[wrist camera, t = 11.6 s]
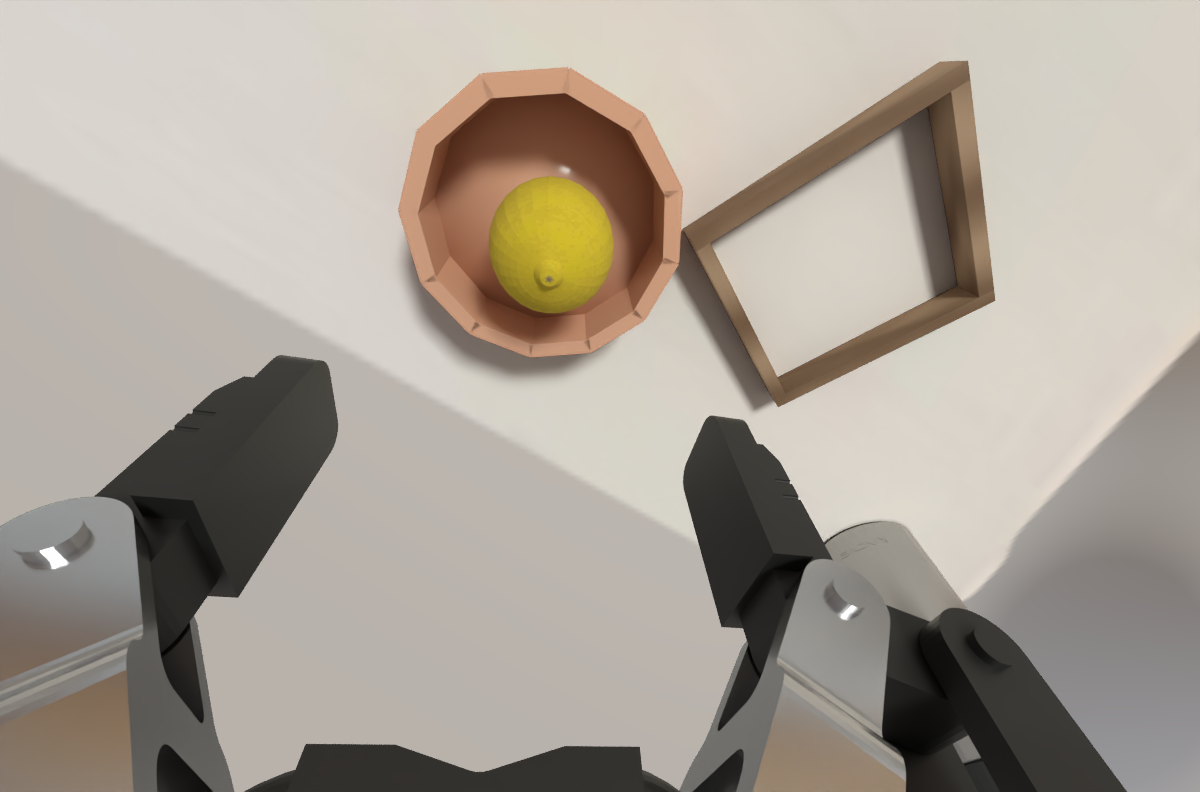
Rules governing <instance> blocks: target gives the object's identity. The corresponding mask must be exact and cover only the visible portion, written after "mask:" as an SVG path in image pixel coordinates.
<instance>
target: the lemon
mask: <svg viewBox="0 0 1200 792" xmlns="http://www.w3.org/2000/svg"><path fill="white" fill-rule="evenodd" d="M613 249H614V241H613V234H612V227H611V224H610V222H609V219H608V217H607V214H606V212H605V210H604V208H603V207H602V206H601V204H600V203H599V202H598V200H597V199H596V198H595V196H594V195H593V194H592V193H590V192H589V191H588V190H587V189H585V188H584V187H583V186H582V185H580V184H578V183H575V182H573V181H571V180H569V179H566V178H560V177H553V176H547V177H539V178H534V179H531V180H529V181H527V182H524V183H522V184H520V185H518V186H517V187H516V188H515V189H514V190H512V191H511V192H510V193H509V194H507V195H506V197H505V198H504V200H503V201H502V203H501V204H500V205H499V207H498V208H497V210H496V212H495V215H494V218H493V221H492V224H491V227H490V235H489V252H490V257H491V262H492V267H493V269H494V271H495V274H496V276H497V278H498V280H499V282H500V284H501V285H502V286H503V288H504V289H505V290H506V291H507V293H508V294H509V295H510V296H511V297H512V298H514V299H515V300H516V301H518V302H519V303H520V304H521V305H523V306H525V307H528V308H530V309H532V310H534V311H538V312H543V313H562V312H567V311H571V310H574V309H576V308H577V307H579V306H581V305H583V304H585V303H586V302H588V301H589V300H590V299H591V298H592V297H593V296H594V295H595V294H596V293H597V292H598V291H599V289H600V288H601V286H602V285H603V283H604V282H605V280H606V278H607V275H608V273H609V270H610V267H611V264H612V260H613Z"/></svg>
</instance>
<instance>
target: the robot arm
mask: <svg viewBox="0 0 1200 792" xmlns="http://www.w3.org/2000/svg"><path fill="white" fill-rule="evenodd" d="M337 432H338V419H337V413H336V407H335V401H334V395H333V389H332V383H331V377H330V371H329V368H328V365H327V364H326V363H325V362H324V361H320V360H313V359H306V358H299V357H290V356H283V355H279V356H277V357H275V358H274V359H273V360H272V361H270V362H269V363H268V364H267V365H266V366H265V367H264V368H263V369H262V370H261V371H260V372H259V373H258V374H257V375H256V376H255V377H254V378H252V377H242V378H240V379H238V380H236V381H234V382H232V383H229V384H227V385H225V386H223V387H221V388H219V389H217V390H215V391H213V392H212V393H211V394H210V395H209V396H208V397H207V398H205V399H204V400H203V401H202V402H201V403H200V404H199V405H197V406H196V407H195V408H194V409H193V413H192V414H187V415H186V416H185V417H184V418H183V419H182V420H180V421H179V422H178V423H177V424H176V425H175V429H174V430H169V431H168V432H167V433H166V434H165V435H163V436H162V437H161V438H160V439H159V440H158V441H157V442H156V443H154V444H153V445H152V446H151V447H150V448H149V449H148V450H146V451H145V452H144V453H143V454H142V455H141V456H140V457H139V458H137V459H136V460H135V461H134V462H133V463H132V464H131V465H130V466H128V467H127V468H126V469H125V470H124V471H123V472H122V473H120V474H119V475H118V476H117V477H116V478H115V479H114V480H113V481H111V482H110V483H109V484H108V485H107V486H106V487H105V488H103V489H102V490H101V491H100V492H99V493H98V494H97V495H95V496H94V497H81V498H74V499H68V500H64V501H59V502H55V503H52V504H48V505H45V506H42V507H39V508H37V509H34V510H31V511H29V512H26V513H24V514H22V515H20V516H18V517H16V518H14V519H12V520H10V521H8V522H7V523H5V524H3V525H1V526H0V792H234V788H233V784H232V779H231V776H230V772H229V769H228V765H227V762H226V759H225V756H224V754H223V751H222V749H221V746H220V744H219V741H218V738H217V734H216V730H215V726H214V721H213V715H212V709H211V703H210V697H209V691H208V685H207V679H206V673H205V667H204V662H203V655H202V649H201V643H200V637H199V631H198V625H197V622H196V619H195V617H194V615H195V613H196V612H197V610H198V609H199V607H200V606H201V605H202V603H203V602H204V600H205V599H206V598H207V596H219V597H239V595H240V594H241V592H242V591H243V589H244V587H245V586H246V584H247V583H248V581H249V579H250V578H251V576H252V575H253V573H254V572H255V570H256V568H257V567H258V566H259V564H260V562H261V561H262V559H263V558H264V556H265V555H266V553H267V551H268V550H269V548H270V546H271V545H272V543H273V542H274V540H275V539H276V537H277V536H278V534H279V532H280V531H281V529H282V528H283V526H284V525H285V523H286V522H287V520H288V518H289V517H290V515H291V514H292V512H293V511H294V509H295V507H296V506H297V504H298V503H299V501H300V500H301V498H302V497H303V495H304V493H305V492H306V490H307V489H308V487H309V485H310V484H311V482H312V481H313V479H314V478H315V476H316V474H317V473H318V471H319V470H320V468H321V467H322V465H323V463H324V462H325V460H326V459H327V457H328V456H329V454H330V453H331V451H332V449H333V447H334V444H335V441H336V437H337ZM683 485H684V491H685V495H686V499H687V502H688V506H689V510H690V513H691V517H692V521H693V524H694V528H695V532H696V535H697V539H698V543H699V546H700V549H701V554H702V557H703V561H704V564H705V568H706V572H707V575H708V579H709V583H710V586H711V590H712V593H713V597H714V601H715V605H716V608H717V612H718V616H719V619H720V623H721V627H732V628H743V629H744V632H745V635H746V638H747V641H746V643H745V644H744V645H743V647H742V649H741V651H740V653H739V656H738V659H737V661H736V664H735V666H734V669H733V671H732V674H731V677H730V679H729V682H728V684H727V687H726V689H725V692H724V695H723V697H722V700H721V702H720V705H719V707H718V710H717V713H716V715H715V718H714V720H713V723H712V726H711V728H710V731H709V733H708V735H707V737H706V740H705V742H704V744H703V745H702V747H701V749H700V751H699V752H698V754H697V756H696V757H695V759H694V761H693V763H692V765H691V766H690V768H689V770H688V773H687V774H686V777H685V779H684V781H683V783H682V786H681V788H680V790H679V791H678V790H677V789H676V788H674V787H673V786H671V785H670V784H669V783H667V782H665V781H664V780H662V779H660V778H658V777H656V776H654V775H653V774H651V773H649V772H646V771H643V770H642V765H641V756H640V747H588V746H585V747H583V746H564V747H561V748H558V749H555V750H552V751H548V752H546V753H542V754H539V755H536V756H533V757H530V758H527V759H524V760H521V761H517V762H514V763H512V764H508V765H505V766H502V767H499V768H496V769H493V770H489V771H485V772H473V771H469V770H466V769H464V768H460V767H458V766H455V765H452V764H449V763H446V762H443V761H441V760H437V759H435V758H432V757H429V756H426V755H423V754H420V753H417V752H415V751H412V750H409V749H406V748H403V747H400V746H397V745H356V744H355V745H354V744H353V745H352V744H351V745H350V744H348V745H347V744H306V745H305V747H304V750H303V752H302V755H301V758H300V760H299V762H298V765H297V768H296V770H293V771H290V772H287V773H284V774H281V775H279V776H276V777H274V778H272V779H269V780H267V781H264V782H262V783H260V784H258V785H256V786H254V787H252V788H250V789H248V790H246V791H245V792H1127V791H1126V790H1125V789H1124V787H1123V786H1122V785H1121V783H1120V782H1119V780H1118V779H1117V778H1116V776H1115V775H1114V774H1113V772H1112V771H1111V770H1110V768H1109V767H1108V766H1107V764H1106V763H1105V762H1104V760H1103V759H1102V757H1101V756H1100V755H1099V754H1098V752H1097V751H1096V749H1095V748H1094V747H1093V745H1092V744H1091V743H1090V742H1089V740H1088V739H1087V737H1086V736H1085V734H1084V733H1083V732H1082V730H1081V729H1080V728H1079V726H1078V725H1077V724H1076V722H1075V721H1074V720H1073V718H1072V717H1071V716H1070V714H1069V713H1068V712H1067V710H1066V709H1065V707H1064V706H1063V705H1062V703H1061V702H1060V701H1059V699H1058V698H1057V697H1056V695H1055V694H1054V693H1053V691H1052V690H1051V689H1050V687H1049V686H1048V685H1047V683H1046V682H1045V680H1044V679H1043V678H1042V676H1041V675H1040V674H1039V672H1038V671H1037V670H1036V668H1035V667H1034V666H1033V664H1032V663H1031V662H1030V660H1029V659H1028V657H1027V656H1026V655H1025V654H1024V652H1023V651H1022V650H1021V649H1020V647H1019V646H1018V645H1017V644H1016V643H1015V642H1014V641H1013V640H1012V639H1011V638H1010V637H1009V636H1008V635H1007V634H1006V633H1004V632H1003V631H1002V630H1001V629H1000V628H998V627H997V626H996V625H994V624H993V623H991V622H990V621H988V620H987V619H985V618H983V617H982V616H980V615H978V614H976V613H973V612H971V611H969V610H968V609H967V608H966V606H965V605H964V604H963V602H962V601H961V599H960V598H959V597H958V595H957V594H956V593H955V591H954V590H953V589H952V587H951V586H950V585H949V583H948V582H947V581H946V579H945V578H944V577H943V575H942V574H941V573H940V571H939V570H938V568H937V567H936V566H935V564H934V563H933V562H932V560H931V559H930V558H929V556H928V555H927V554H926V552H925V551H924V550H923V548H922V547H921V546H920V544H919V543H918V542H917V540H916V539H915V538H914V536H913V535H912V534H911V532H910V531H909V530H908V529H907V528H906V527H904V526H902V525H900V524H897V523H893V522H875V523H869V524H864V525H860V526H857V527H854V528H851V529H849V530H847V531H844V532H842V533H840V534H839V535H837V536H835V537H834V538H832V539H831V540H830V541H829V542H827V543H826V544H824V542H823V541H822V539H821V537H820V535H819V533H818V531H817V530H816V528H815V526H814V524H813V522H812V520H811V518H810V517H809V515H808V513H807V511H806V509H805V507H804V506H803V504H802V502H801V500H798V494H797V493H796V491H795V489H794V487H793V485H792V484H790V480H789V478H788V476H787V474H786V472H785V470H784V469H783V467H782V465H781V463H780V462H779V461H778V460H777V458H776V457H775V456H774V455H773V454H772V453H771V452H770V451H769V450H768V449H767V448H766V447H765V446H764V445H761V444H757V443H756V441H755V439H754V437H753V435H752V433H751V431H750V429H749V427H748V425H747V424H746V422H745V421H743V420H740V419H733V418H725V417H718V416H709V417H708V418H707V419H706V420H705V422H704V424H703V426H702V429H701V431H700V433H699V435H698V438H697V440H696V442H695V445H694V447H693V449H692V451H691V454H690V456H689V458H688V460H687V463H686V466H685V470H684V477H683Z"/></svg>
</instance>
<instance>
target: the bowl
mask: <svg viewBox="0 0 1200 792" xmlns="http://www.w3.org/2000/svg"><path fill="white" fill-rule="evenodd" d="M547 176H553V177H560V178H566V179H569V180H571V181H573V182H575V183H578V184H580V185H582V186H583V187H584V188H585V189H587V190H588V191H589V192H590V193H592V194H593V195H594V196H595V198H596V199H597V200H598V202H599V203H600V204H601V206H602V207H603V208H604V210H605V212H606V214H607V217H608V219H609V222H610V224H611V227H612V234H613V241H614V249H613V260H612V264H611V267H610V270H609V273H608V275H607V278H606V280H605V282H604V283H603V285H602V286H601V288H600V289H599V291H598V292H597V293H596V294H595V295H594V296H593V297H592V298H591V299H590V300H589V301H588V302H586V303H585V304H583V305H581V306H579V307H577V308H576V309H574V310H571V311H567V312H562V313H543V312H538V311H534V310H532V309H530V308H528V307H525V306H523V305H521V304H520V303H519V302H518V301H516V300H515V299H514V298H512V297H511V296H510V295H509V294H508V293H507V291H506V290H505V289H504V288H503V286H502V285H501V284H500V282H499V280H498V278H497V276H496V274H495V271H494V269H493V267H492V262H491V257H490V252H489V235H490V227H491V224H492V221H493V218H494V215H495V212H496V210H497V208H498V207H499V205H500V204H501V203H502V201H503V200H504V198H505V197H506V195H507V194H509V193H510V192H511V191H512V190H514V189H515V188H516V187H517V186H518V185H520V184H522V183H524V182H527V181H529V180H531V179H534V178H539V177H547ZM682 197H683V190H682V186H681V184H680V182H679V180H678V178H677V176H676V174H675V172H674V170H673V168H672V166H671V164H670V162H669V160H668V158H667V156H666V154H665V152H664V150H663V148H662V147H661V145H660V143H659V141H658V139H657V137H656V135H655V133H654V131H653V129H652V127H651V125H650V123H649V121H648V119H647V117H646V115H645V114H644V113H643V112H641V111H639V110H638V109H636V108H635V107H633V106H631V105H630V104H628V103H626V102H625V101H623V100H621V99H620V98H618V97H617V96H615V95H613V94H612V93H610V92H608V91H607V90H605V89H604V88H602V87H600V86H599V85H597V84H595V83H594V82H592V81H591V80H589V79H587V78H586V77H584V76H582V75H581V74H579V73H578V72H576V71H574V70H573V69H571V68H570V69H569V72H568V67H566V68H552V69H538V70H523V71H509V72H494V73H482V74H479V75H478V76H477V77H476V78H475V79H474V80H473V81H472V82H470V83H469V84H468V85H467V86H466V87H465V88H464V89H463V90H461V91H460V92H459V93H458V94H457V95H456V96H455V97H454V98H452V99H451V100H450V101H449V102H448V103H447V104H446V105H445V106H443V107H442V108H441V109H440V110H439V111H438V112H437V113H436V114H434V115H433V116H432V117H431V118H430V119H429V120H428V121H427V122H425V123H424V124H423V125H422V126H421V127H420V128H419V129H418V131H416V135H415V140H414V144H413V148H412V152H411V157H410V161H409V165H408V170H407V174H406V178H405V182H404V187H403V191H402V195H401V200H400V204H399V208H398V209H399V211H398V212H399V215H400V218H401V221H402V225H403V228H404V231H405V234H406V238H407V241H408V244H409V247H410V251H411V254H412V257H413V260H414V264H415V267H416V270H417V273H418V277H419V280H420V283H422V285H423V286H424V288H425V289H426V290H427V291H428V292H429V293H430V294H431V295H432V296H433V297H434V298H435V299H436V300H437V301H438V302H439V303H440V304H441V305H442V306H443V307H444V308H445V309H446V310H447V312H448V313H449V314H450V315H451V316H452V317H453V318H454V319H455V320H456V321H457V322H458V323H459V324H460V325H461V326H462V327H463V328H464V329H465V330H466V331H467V332H468V333H470V335H472V336H475V337H478V338H480V339H483V340H485V341H488V342H491V343H493V344H496V345H498V346H501V347H504V348H506V349H509V350H511V351H514V352H517V353H519V354H522V355H524V356H527V357H543V356H556V355H569V354H582V353H591V352H593V351H595V350H597V349H598V348H600V347H602V346H603V345H605V344H607V343H608V342H610V341H612V340H613V339H615V338H617V337H618V336H620V335H622V334H623V333H625V332H627V331H628V330H630V329H632V328H633V327H635V326H637V325H638V324H640V323H642V322H643V321H644V320H645V319H646V318H647V316H648V314H649V313H650V311H651V309H652V308H653V306H654V304H655V303H656V301H657V299H658V298H659V296H660V295H661V293H662V291H663V290H664V288H665V286H666V285H667V283H668V281H669V280H670V278H671V276H672V275H673V273H674V271H675V270H676V268H677V267H678V265H679V264H678V263H679V257H680V237H681V217H682ZM643 319H644V320H643Z"/></svg>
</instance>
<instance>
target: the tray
mask: <svg viewBox="0 0 1200 792" xmlns="http://www.w3.org/2000/svg"><path fill="white" fill-rule="evenodd" d="M927 106H928V110H929V116H930V122H931V128H932V134H933V140H934V146H935V152H936V158H937V164H938V170H939V176H940V182H941V188H942V194H943V200H944V206H945V212H946V218H947V224H948V230H949V236H950V242H951V248H952V254H953V260H954V266H955V272H956V278H957V284H958V286H956V287H954V288H952V289H950V290H948V291H946V292H944V293H942V294H940V295H938V296H937V297H935V298H933V299H931V300H929V301H927V302H925V303H923V304H921V305H919V306H917V307H915V308H913V309H911V310H909V311H907V312H905V313H903V314H901V315H899V316H897V317H895V318H893V319H891V320H889V321H888V322H886V323H884V324H882V325H880V326H878V327H876V328H874V329H872V330H870V331H868V332H866V333H864V334H862V335H860V336H858V337H856V338H854V339H852V340H850V341H848V342H846V343H844V344H842V345H841V346H839V347H837V348H835V349H833V350H831V351H829V352H827V353H825V354H823V355H821V356H819V357H817V358H815V359H813V360H811V361H809V362H807V363H805V364H803V365H801V366H799V367H797V368H795V369H793V370H792V371H790V372H788V373H786V374H784V375H782V376H780V377H778V378H777V376H776V374H775V372H774V370H773V368H772V366H771V364H770V362H769V360H768V358H767V356H766V354H765V352H764V350H763V348H762V346H761V344H760V342H759V340H758V338H757V336H756V334H755V332H754V330H753V328H752V326H751V324H750V322H749V320H748V318H747V316H746V314H745V312H744V310H743V308H742V306H741V304H740V302H739V300H738V298H737V296H736V294H735V292H734V290H733V288H732V286H731V284H730V282H729V280H728V278H727V276H726V274H725V272H724V270H723V268H722V266H721V264H720V262H719V260H718V258H717V256H716V254H715V252H714V250H713V248H712V246H711V244H710V243H711V242H713V241H714V240H716V239H717V238H719V237H721V236H722V235H724V234H725V233H727V232H729V231H730V230H732V229H733V228H735V227H737V226H738V225H740V224H741V223H743V222H745V221H746V220H748V219H749V218H751V217H752V216H754V215H756V214H757V213H759V212H760V211H762V210H764V209H765V208H767V207H768V206H770V205H772V204H773V203H775V202H776V201H778V200H780V199H781V198H783V197H784V196H786V195H787V194H789V193H791V192H792V191H794V190H795V189H797V188H799V187H800V186H802V185H803V184H805V183H807V182H808V181H810V180H811V179H813V178H815V177H816V176H818V175H819V174H821V173H822V172H824V171H826V170H827V169H829V168H830V167H832V166H834V165H835V164H837V163H838V162H840V161H842V160H843V159H845V158H846V157H848V156H850V155H851V154H853V153H854V152H856V151H857V150H859V149H861V148H862V147H864V146H865V145H867V144H869V143H870V142H872V141H873V140H875V139H877V138H878V137H880V136H881V135H883V134H885V133H886V132H888V131H889V130H891V129H892V128H894V127H896V126H897V125H899V124H900V123H902V122H904V121H905V120H907V119H908V118H910V117H912V116H913V115H915V114H916V113H918V112H920V111H921V110H923V109H924V108H926V107H927ZM683 231H684V233H685V235H686V237H687V238H688V240H689V242H690V244H691V246H692V248H693V250H694V252H695V254H696V255H697V257H698V259H699V261H700V263H701V265H702V267H703V269H704V271H705V272H706V274H707V276H708V278H709V280H710V282H711V284H712V286H713V288H714V289H715V291H716V293H717V295H718V297H719V299H720V301H721V303H722V305H723V306H724V308H725V310H726V312H727V314H728V316H729V318H730V320H731V322H732V323H733V325H734V327H735V329H736V331H737V333H738V335H739V337H740V339H741V341H742V342H743V344H744V346H745V348H746V350H747V352H748V354H749V356H750V358H751V359H752V361H753V363H754V365H755V367H756V369H757V371H758V373H759V375H760V376H761V378H762V380H763V382H764V384H765V386H766V388H767V390H768V392H769V393H770V395H771V396H772V398H773V400H774V401H775V403H776V404H777V406H778V407H779V406H781V405H783V404H786V403H788V402H790V401H792V400H794V399H796V398H798V397H800V396H802V395H804V394H806V393H808V392H810V391H812V390H814V389H816V388H818V387H820V386H822V385H824V384H826V383H828V382H830V381H832V380H834V379H836V378H839V377H841V376H843V375H845V374H847V373H849V372H851V371H853V370H855V369H857V368H859V367H861V366H863V365H865V364H867V363H869V362H871V361H873V360H875V359H877V358H879V357H881V356H883V355H885V354H887V353H890V352H892V351H894V350H896V349H898V348H900V347H902V346H904V345H906V344H908V343H910V342H912V341H914V340H916V339H918V338H920V337H922V336H924V335H926V334H928V333H930V332H932V331H934V330H936V329H938V328H940V327H943V326H945V325H947V324H949V323H951V322H953V321H955V320H957V319H959V318H961V317H963V316H965V315H967V314H969V313H971V312H973V311H975V310H977V309H979V308H981V307H983V306H985V305H987V304H989V303H991V302H994V301H995V294H994V286H993V277H992V268H991V259H990V250H989V242H988V233H987V224H986V215H985V206H984V198H983V189H982V180H981V171H980V162H979V154H978V145H977V136H976V127H975V118H974V110H973V101H972V92H971V83H970V74H969V66H968V61H948V62H939V63H937V64H936V65H934V66H933V67H931V68H930V69H928V70H927V71H925V72H924V73H922V74H920V75H919V76H917V77H916V78H914V79H913V80H911V81H910V82H908V83H907V84H905V85H904V86H902V87H900V88H899V89H897V90H896V91H894V92H893V93H891V94H890V95H888V96H887V97H885V98H884V99H882V100H881V101H879V102H877V103H876V104H874V105H873V106H871V107H870V108H868V109H867V110H865V111H864V112H862V113H861V114H859V115H857V116H856V117H854V118H853V119H851V120H850V121H848V122H847V123H845V124H844V125H842V126H841V127H839V128H838V129H836V130H834V131H833V132H831V133H830V134H828V135H827V136H825V137H824V138H822V139H821V140H819V141H818V142H816V143H814V144H813V145H811V146H810V147H808V148H807V149H805V150H804V151H802V152H801V153H799V154H798V155H796V156H794V157H793V158H791V159H790V160H788V161H787V162H785V163H784V164H782V165H781V166H779V167H778V168H776V169H775V170H773V171H771V172H770V173H768V174H767V175H765V176H764V177H762V178H761V179H759V180H758V181H756V182H755V183H753V184H751V185H750V186H748V187H747V188H745V189H744V190H742V191H741V192H739V193H738V194H736V195H735V196H733V197H731V198H730V199H728V200H727V201H725V202H724V203H722V204H721V205H719V206H718V207H716V208H715V209H713V210H712V211H710V212H708V213H707V214H705V215H704V216H702V217H701V218H699V219H698V220H696V221H695V222H693V223H692V224H690V225H688V226H687V227H685V228H684V229H683Z"/></svg>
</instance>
